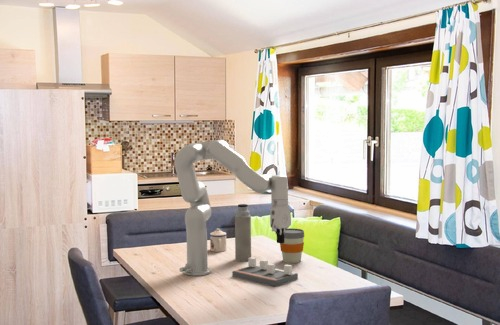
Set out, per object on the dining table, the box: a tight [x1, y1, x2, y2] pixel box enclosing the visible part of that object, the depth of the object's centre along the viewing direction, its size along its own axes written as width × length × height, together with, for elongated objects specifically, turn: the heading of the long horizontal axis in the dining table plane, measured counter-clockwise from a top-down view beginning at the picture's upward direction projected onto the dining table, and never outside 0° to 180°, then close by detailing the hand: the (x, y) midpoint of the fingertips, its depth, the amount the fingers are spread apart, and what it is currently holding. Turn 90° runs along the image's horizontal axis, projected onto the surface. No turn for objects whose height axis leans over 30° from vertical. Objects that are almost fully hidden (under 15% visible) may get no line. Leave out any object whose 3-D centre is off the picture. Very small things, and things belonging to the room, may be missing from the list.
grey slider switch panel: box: [231, 256, 299, 288], centre depth 285 cm, size 16×25×7 cm, turn 49°
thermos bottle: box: [234, 203, 252, 262], centre depth 318 cm, size 8×8×28 cm
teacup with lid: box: [209, 228, 228, 253], centre depth 338 cm, size 12×9×12 cm
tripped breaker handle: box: [267, 263, 276, 274], centre depth 282 cm, size 2×3×4 cm, turn 49°
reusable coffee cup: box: [279, 227, 305, 264], centre depth 316 cm, size 12×13×15 cm
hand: (280, 242), depth 286 cm, fingers closed
